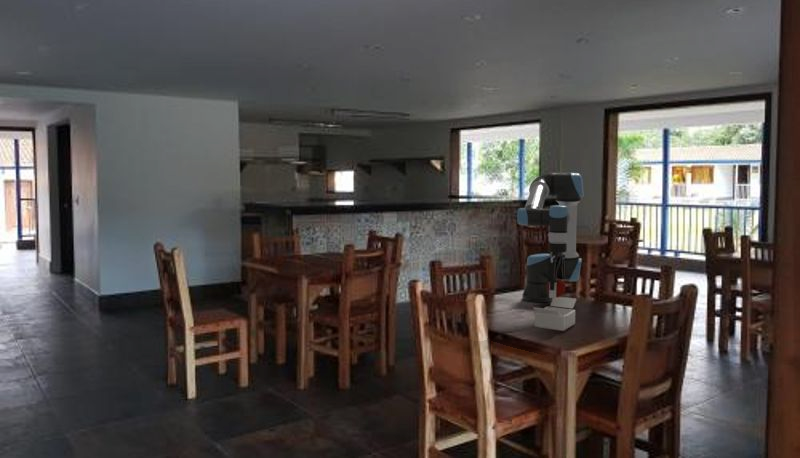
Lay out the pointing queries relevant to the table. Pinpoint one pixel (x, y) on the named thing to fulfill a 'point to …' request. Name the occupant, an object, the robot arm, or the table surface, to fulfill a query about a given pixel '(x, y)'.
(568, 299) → the flap
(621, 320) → the table surface
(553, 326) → the carton
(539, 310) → the flap
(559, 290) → the apple
